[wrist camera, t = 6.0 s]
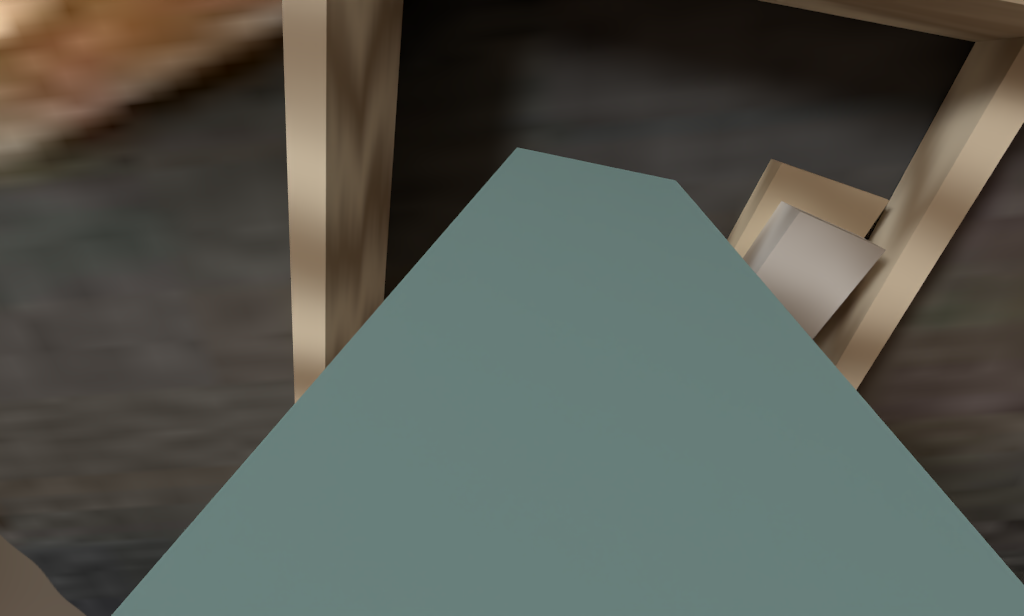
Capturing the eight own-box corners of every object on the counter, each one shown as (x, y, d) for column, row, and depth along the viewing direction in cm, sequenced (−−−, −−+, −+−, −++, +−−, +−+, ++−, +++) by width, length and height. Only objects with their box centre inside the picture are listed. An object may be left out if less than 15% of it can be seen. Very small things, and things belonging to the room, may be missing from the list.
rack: (369, -120, 19) (266, -220, 13) (1039, 5, 18) (1280, -37, 12) (350, 414, 32) (293, 495, 25) (747, 508, 31) (790, 618, 24)
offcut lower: (765, 156, 22) (781, 162, 21) (865, 191, 22) (889, 200, 21) (649, 372, 28) (654, 392, 26) (728, 399, 28) (738, 420, 26)
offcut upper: (781, 200, 21) (800, 211, 19) (860, 236, 21) (885, 249, 20) (666, 370, 26) (673, 392, 24) (733, 398, 26) (744, 422, 24)
